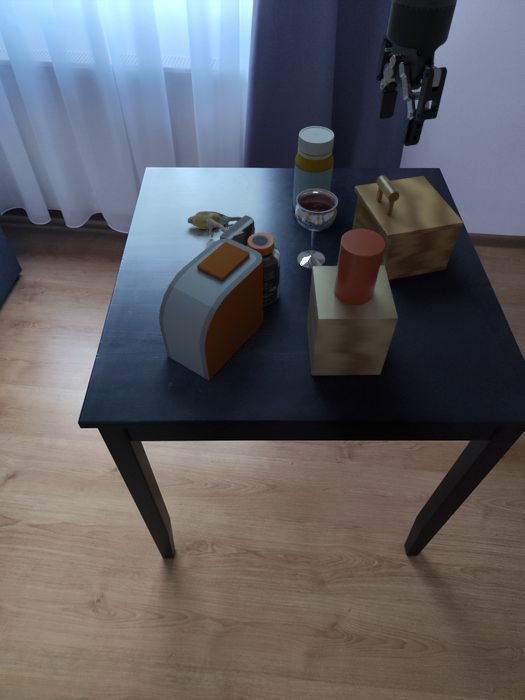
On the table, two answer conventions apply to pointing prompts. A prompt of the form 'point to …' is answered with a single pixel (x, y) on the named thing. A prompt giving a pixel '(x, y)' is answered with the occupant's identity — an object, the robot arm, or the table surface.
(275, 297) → the pill bottle
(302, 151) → the bottle
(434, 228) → the lid
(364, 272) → the spice tin
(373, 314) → the block
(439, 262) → the box
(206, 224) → the decorative sculpture
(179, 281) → the alarm clock
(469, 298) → the table surface
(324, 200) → the wineglass
